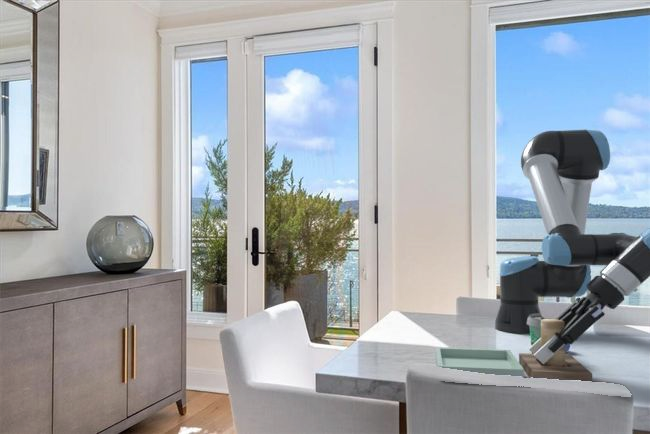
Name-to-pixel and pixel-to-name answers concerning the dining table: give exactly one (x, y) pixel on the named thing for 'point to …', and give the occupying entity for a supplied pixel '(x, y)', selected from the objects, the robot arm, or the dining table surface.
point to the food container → (535, 327)
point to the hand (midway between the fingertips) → (535, 356)
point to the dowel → (546, 334)
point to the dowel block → (554, 369)
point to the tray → (479, 361)
